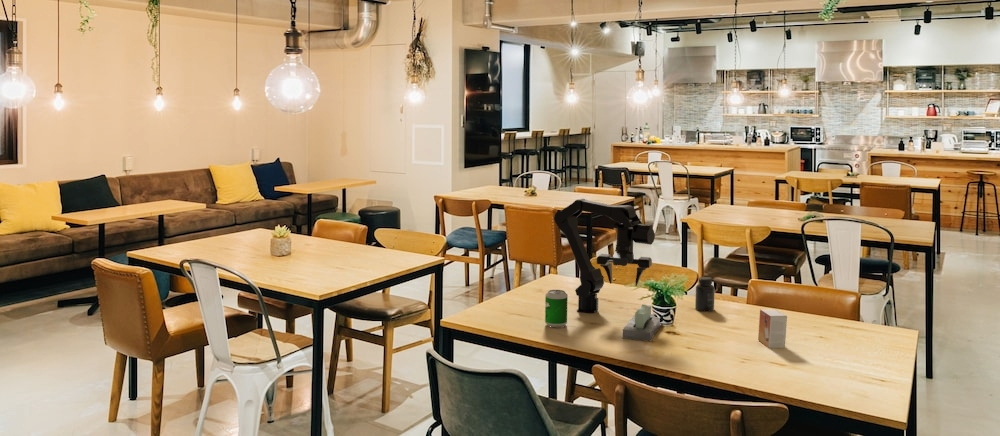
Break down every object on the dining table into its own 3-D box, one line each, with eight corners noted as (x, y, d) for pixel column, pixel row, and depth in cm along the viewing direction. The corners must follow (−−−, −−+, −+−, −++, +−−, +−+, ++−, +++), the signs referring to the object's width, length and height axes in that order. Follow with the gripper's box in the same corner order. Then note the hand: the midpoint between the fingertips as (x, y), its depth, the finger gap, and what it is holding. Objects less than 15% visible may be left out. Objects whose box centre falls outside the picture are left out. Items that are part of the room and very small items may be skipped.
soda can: (570, 324, 269) (570, 290, 267) (562, 329, 262) (563, 295, 260) (549, 321, 272) (550, 288, 270) (541, 327, 265) (542, 292, 263)
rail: (622, 338, 253) (622, 329, 252) (636, 320, 273) (636, 312, 272) (650, 341, 249) (650, 332, 249) (661, 323, 270) (662, 315, 269)
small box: (757, 340, 251) (759, 309, 249) (774, 340, 251) (776, 308, 250) (768, 348, 243) (770, 315, 242) (785, 347, 244) (787, 315, 242)
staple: (634, 335, 256) (635, 313, 255) (641, 325, 267) (642, 304, 266) (643, 336, 255) (644, 314, 254) (650, 326, 266) (651, 305, 265)
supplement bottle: (712, 307, 292) (713, 276, 290) (715, 312, 285) (716, 280, 283) (693, 306, 292) (694, 275, 290) (696, 311, 286) (697, 279, 284)
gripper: (593, 243, 269) (592, 287, 272) (646, 247, 263) (645, 292, 265) (600, 238, 280) (600, 280, 282) (652, 241, 273) (651, 285, 275)
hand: (623, 284), depth 276 cm, fingers open, 9 cm apart
